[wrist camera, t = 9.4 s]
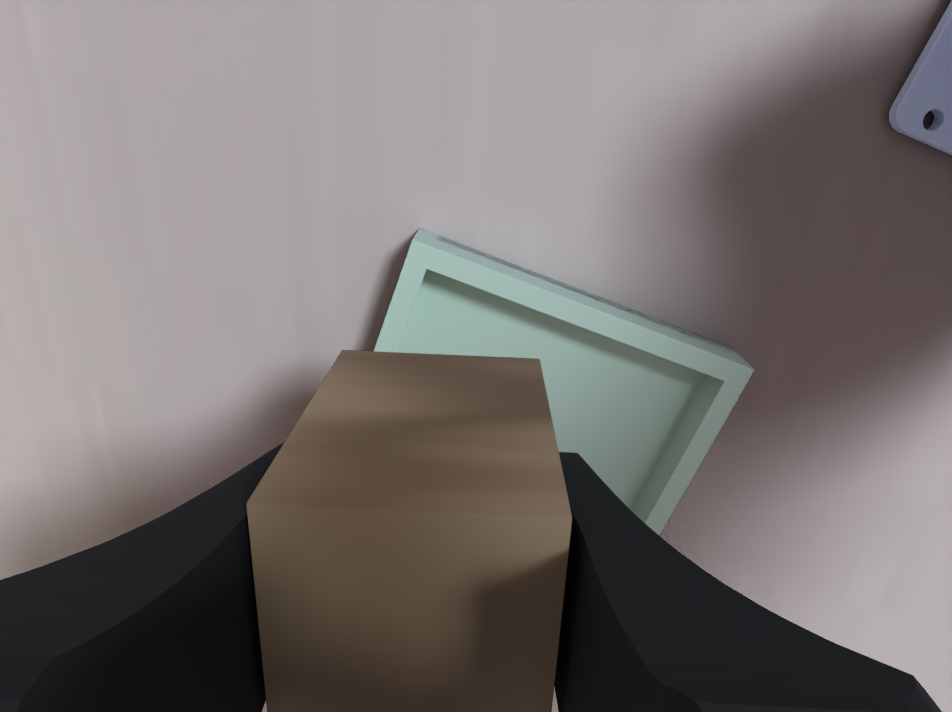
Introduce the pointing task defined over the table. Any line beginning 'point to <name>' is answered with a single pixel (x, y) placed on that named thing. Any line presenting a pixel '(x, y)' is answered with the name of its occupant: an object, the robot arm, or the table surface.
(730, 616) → the robot arm
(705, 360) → the tray
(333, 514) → the block
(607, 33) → the table surface
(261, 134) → the table surface
